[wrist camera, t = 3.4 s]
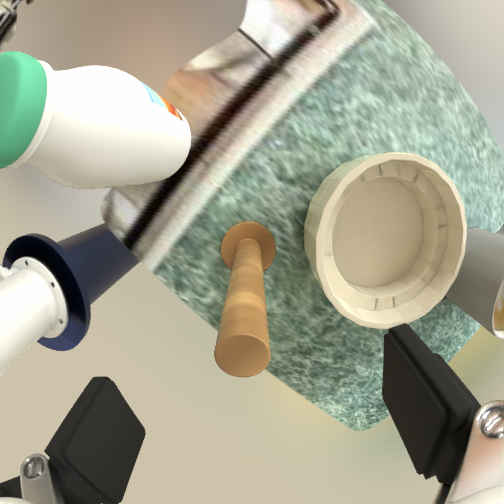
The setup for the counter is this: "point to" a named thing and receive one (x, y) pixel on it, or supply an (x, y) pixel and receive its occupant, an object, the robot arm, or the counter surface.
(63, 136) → the milk bottle
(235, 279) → the wooden masher
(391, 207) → the bowl
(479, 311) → the coffee mug
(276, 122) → the counter surface
